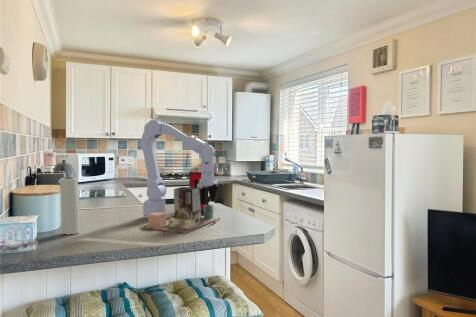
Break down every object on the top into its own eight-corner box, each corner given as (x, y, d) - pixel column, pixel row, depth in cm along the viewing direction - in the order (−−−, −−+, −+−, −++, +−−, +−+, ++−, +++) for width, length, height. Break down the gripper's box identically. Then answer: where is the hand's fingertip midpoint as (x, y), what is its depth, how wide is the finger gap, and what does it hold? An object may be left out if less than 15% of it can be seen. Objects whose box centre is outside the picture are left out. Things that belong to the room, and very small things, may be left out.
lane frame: (140, 231, 133) (139, 215, 133) (174, 219, 154) (174, 205, 153) (185, 236, 124) (185, 220, 124) (216, 223, 144) (215, 209, 144)
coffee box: (202, 227, 138) (201, 187, 137) (193, 231, 132) (192, 189, 132) (183, 225, 142) (182, 186, 141) (174, 228, 136) (173, 188, 136)
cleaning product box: (208, 213, 165) (208, 172, 164) (190, 214, 164) (189, 172, 163) (208, 207, 181) (207, 169, 180) (191, 208, 180) (190, 170, 179)
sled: (169, 228, 136) (169, 213, 136) (198, 217, 155) (198, 204, 155) (194, 231, 131) (193, 215, 131) (220, 219, 150) (220, 206, 150)
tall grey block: (68, 236, 127) (65, 178, 126) (58, 234, 130) (56, 178, 129) (85, 232, 133) (83, 177, 132) (76, 230, 136) (74, 176, 135)
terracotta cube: (148, 227, 135) (148, 214, 135) (154, 224, 140) (154, 212, 139) (159, 228, 133) (159, 215, 133) (166, 225, 138) (165, 212, 138)
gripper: (206, 173, 143) (207, 206, 143) (223, 171, 156) (223, 200, 156) (192, 173, 146) (193, 205, 146) (210, 170, 159) (210, 199, 159)
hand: (208, 202), depth 152 cm, fingers open, 7 cm apart
